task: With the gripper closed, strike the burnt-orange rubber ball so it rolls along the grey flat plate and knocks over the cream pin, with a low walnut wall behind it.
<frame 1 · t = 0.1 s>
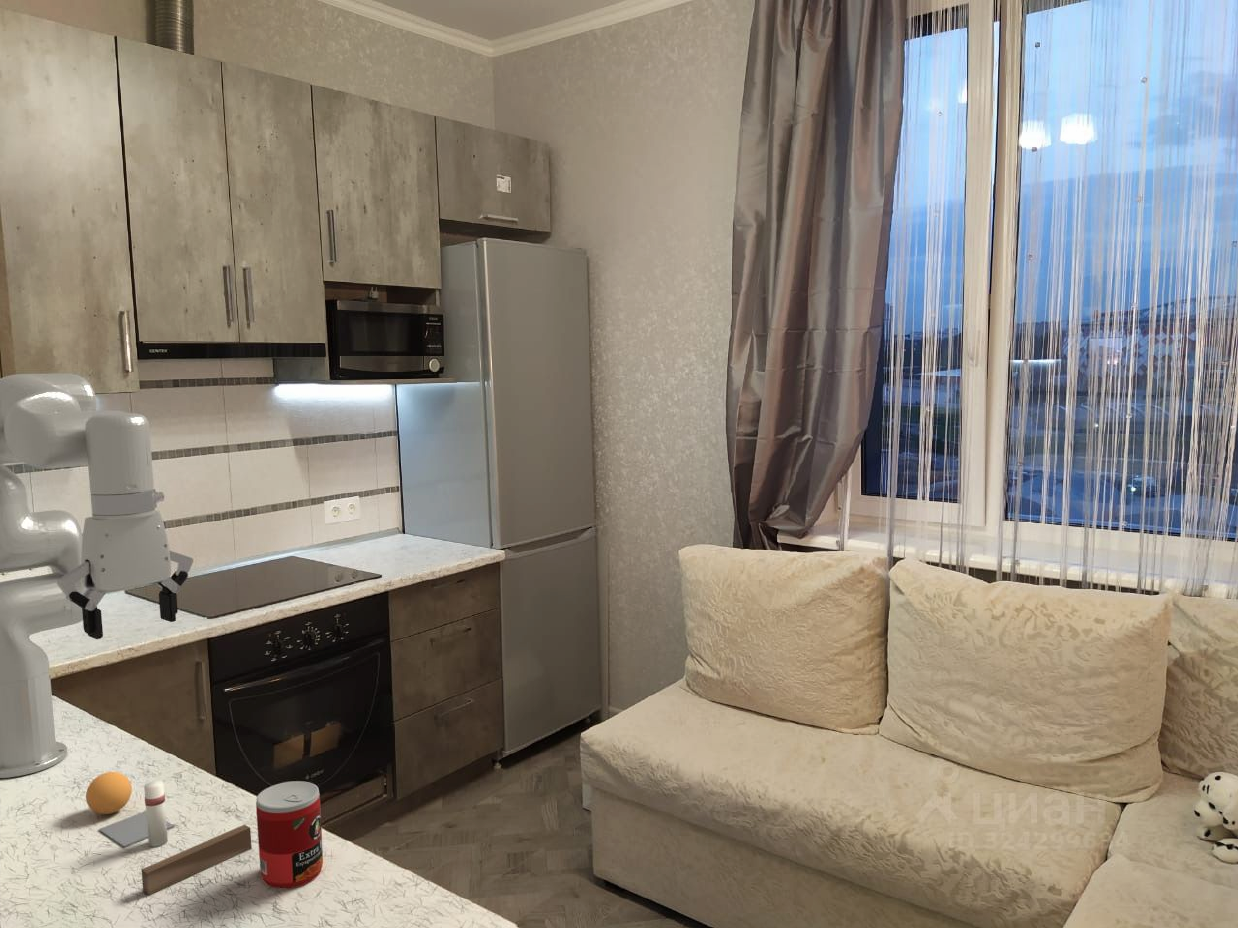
hand: (132, 628, 123), 31 cm above the table, tool pointing down, fingers open, 9 cm apart
pin: (158, 842, 127), on the table
ball: (109, 792, 136), on the table
back wall: (199, 868, 120), on the table
grey flat plate: (136, 828, 131), on the table
canned food: (292, 874, 119), on the table
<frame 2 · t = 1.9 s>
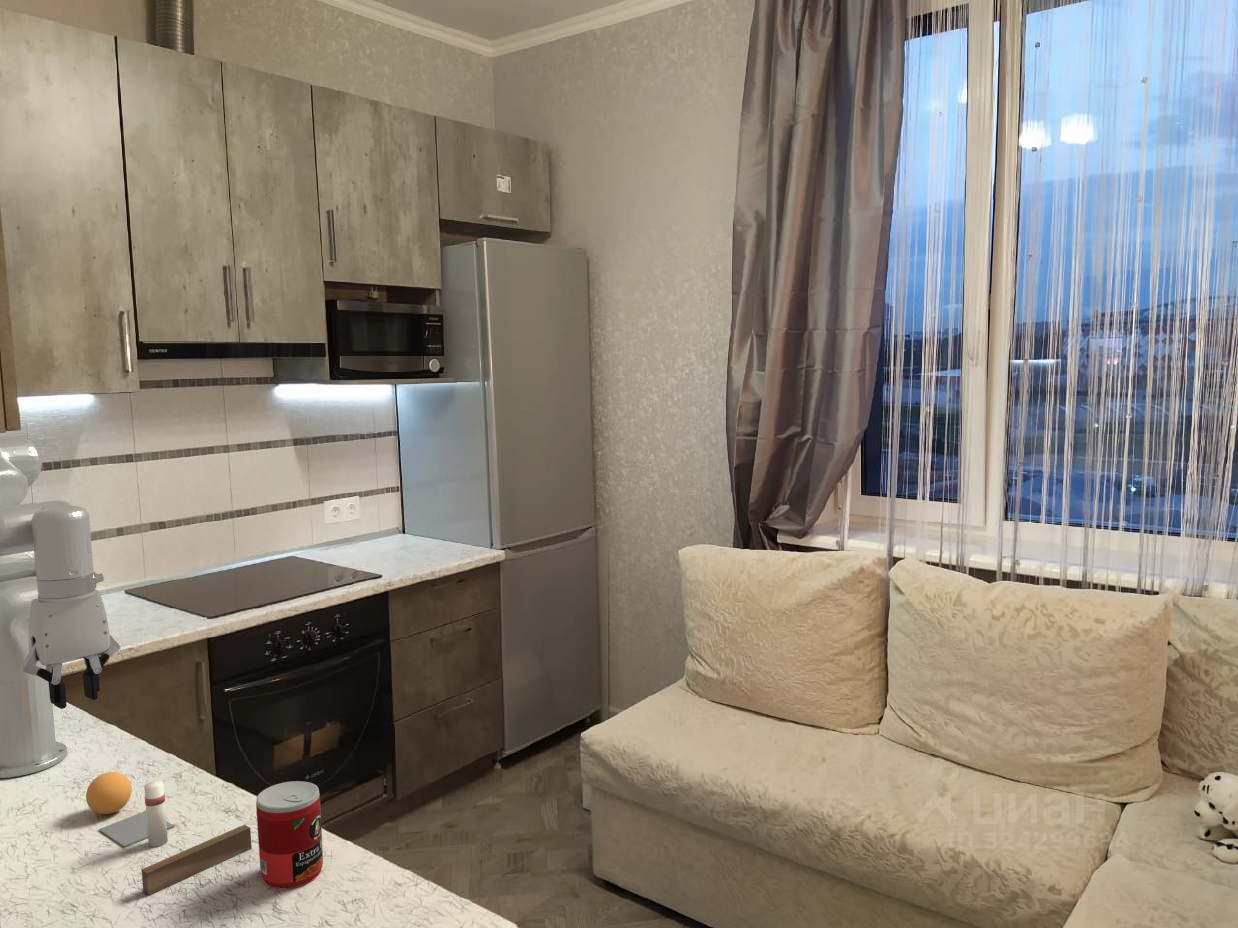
hand: (75, 700, 140), 15 cm above the table, tool pointing down, fingers open, 3 cm apart
nothing on the table moved.
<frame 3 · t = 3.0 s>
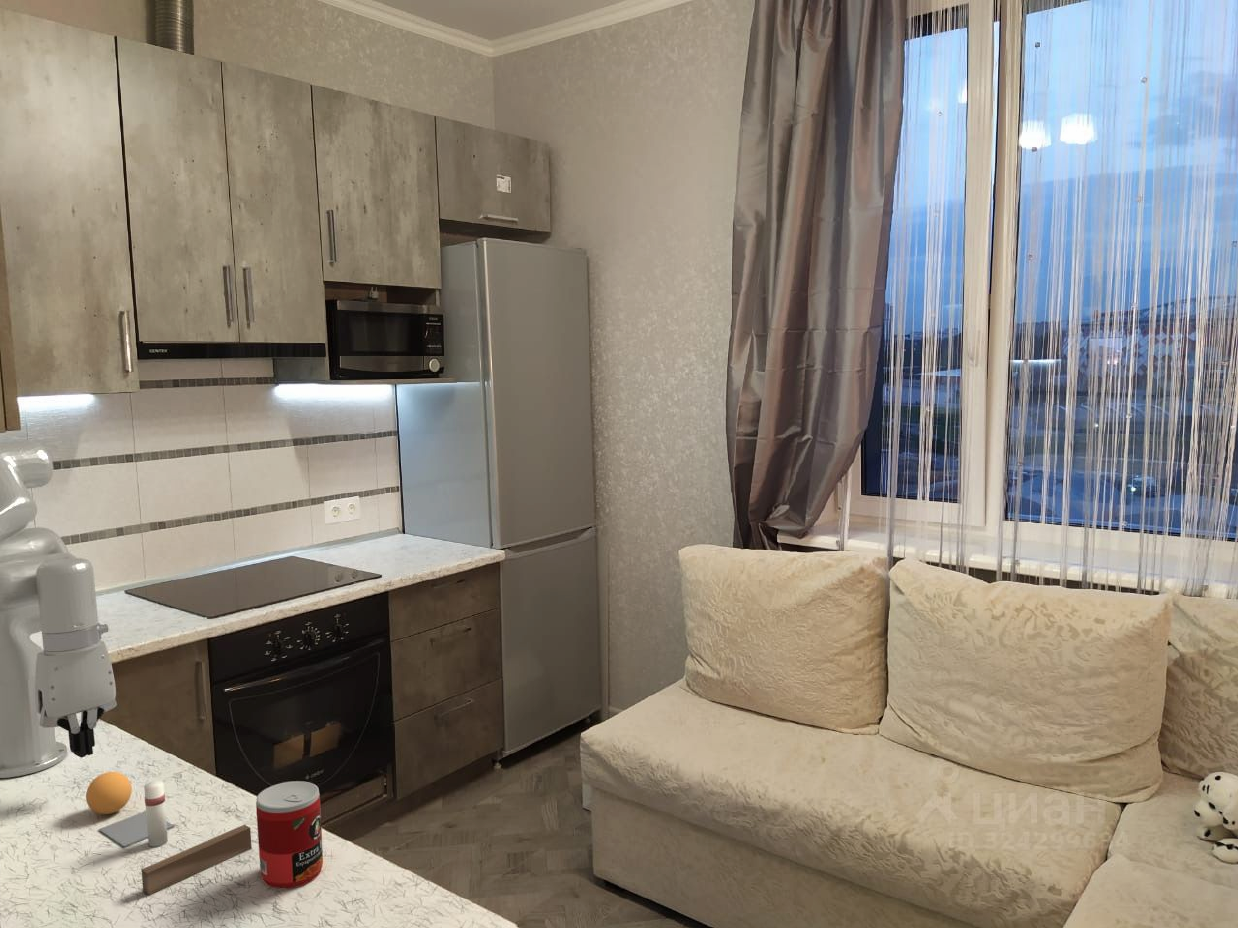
hand: (83, 753, 140), 7 cm above the table, tool pointing down, fingers closed
nothing on the table moved.
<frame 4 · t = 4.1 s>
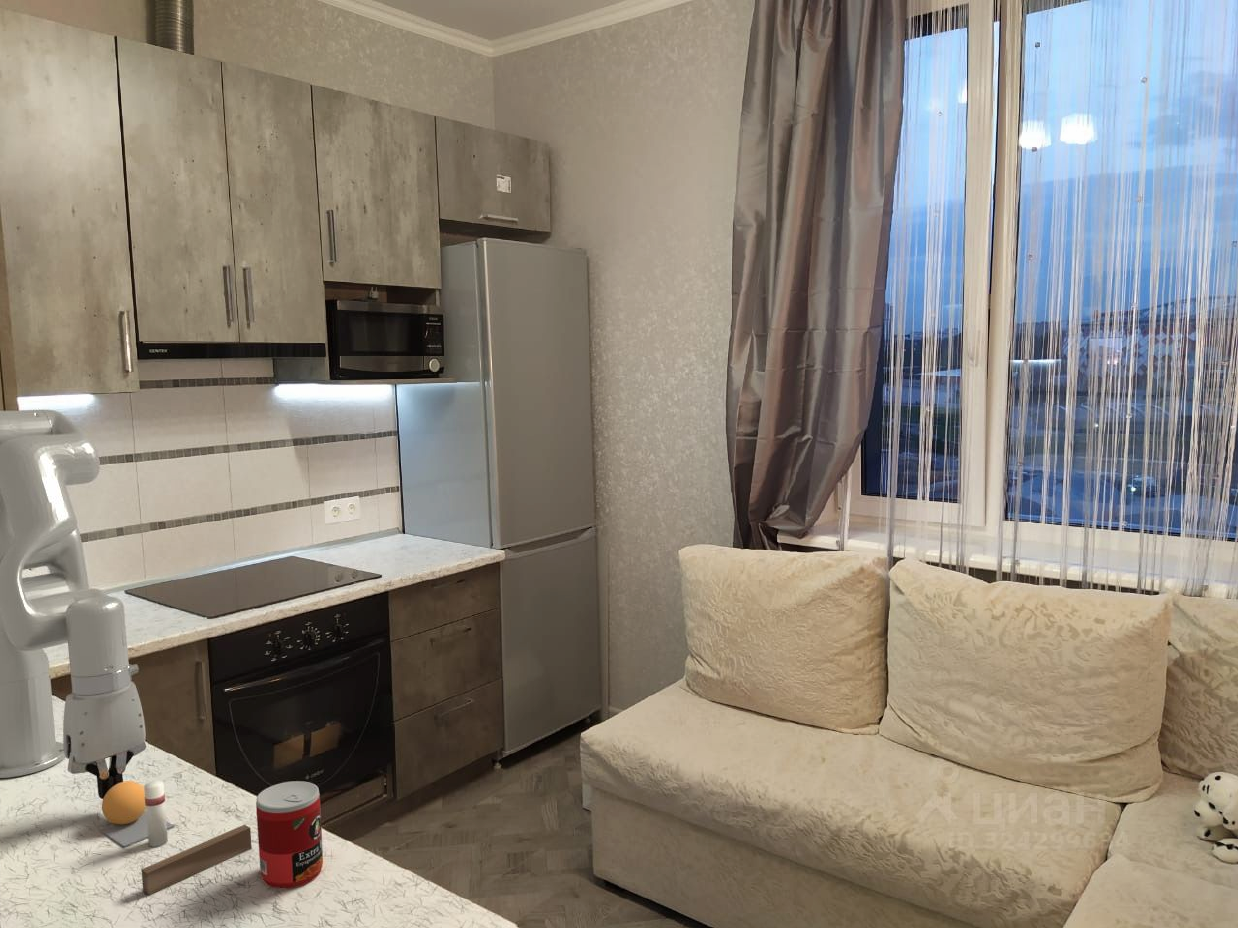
hand: (111, 799, 135), 2 cm above the table, tool pointing down, fingers closed
ball: (125, 802, 133), on the table
everything else where it was.
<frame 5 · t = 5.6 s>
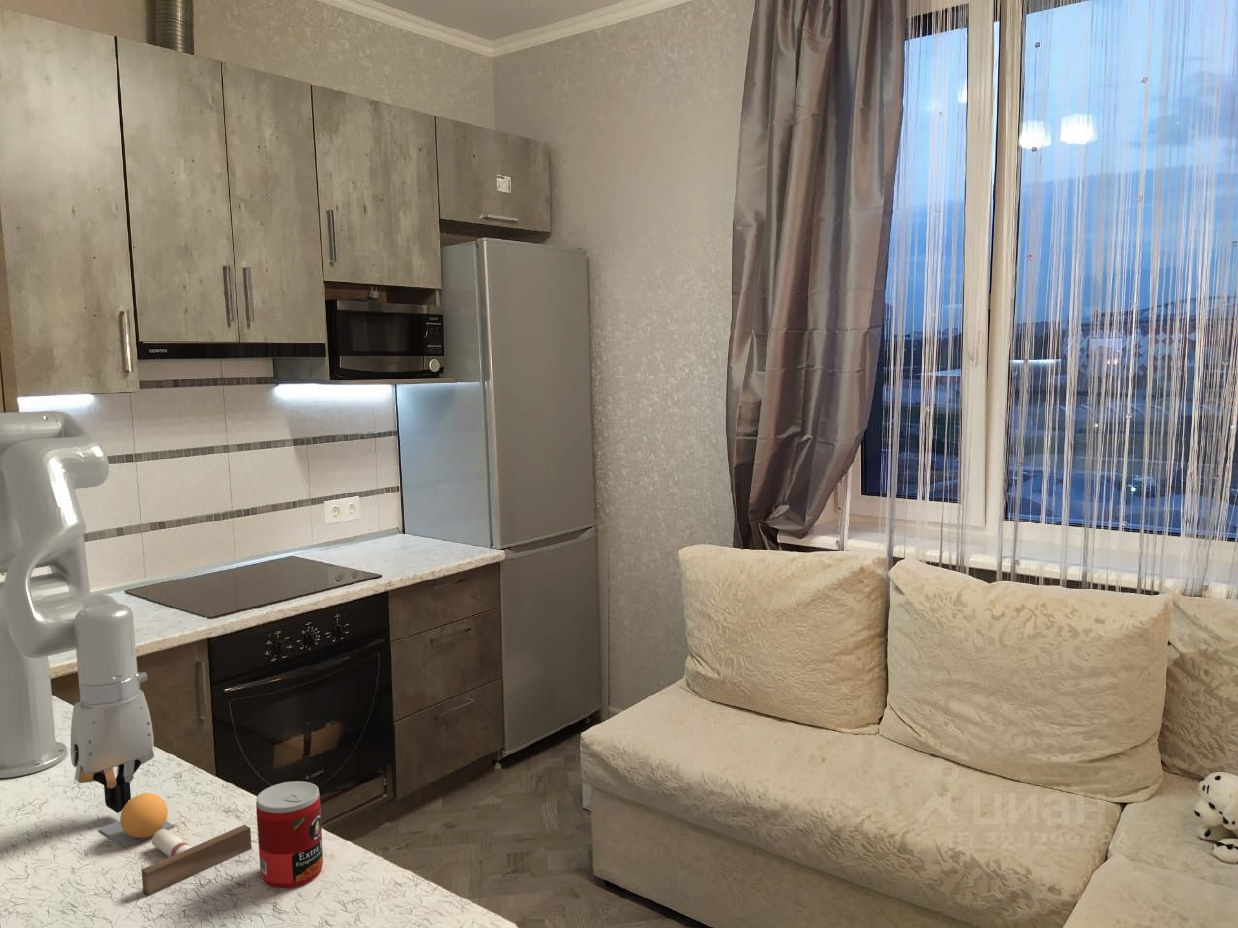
hand: (118, 807, 134), 2 cm above the table, tool pointing down, fingers closed
pin: (160, 837, 126), point 1 cm above the table, tilted 90°
ball: (144, 815, 129), on the table
everything else where it was.
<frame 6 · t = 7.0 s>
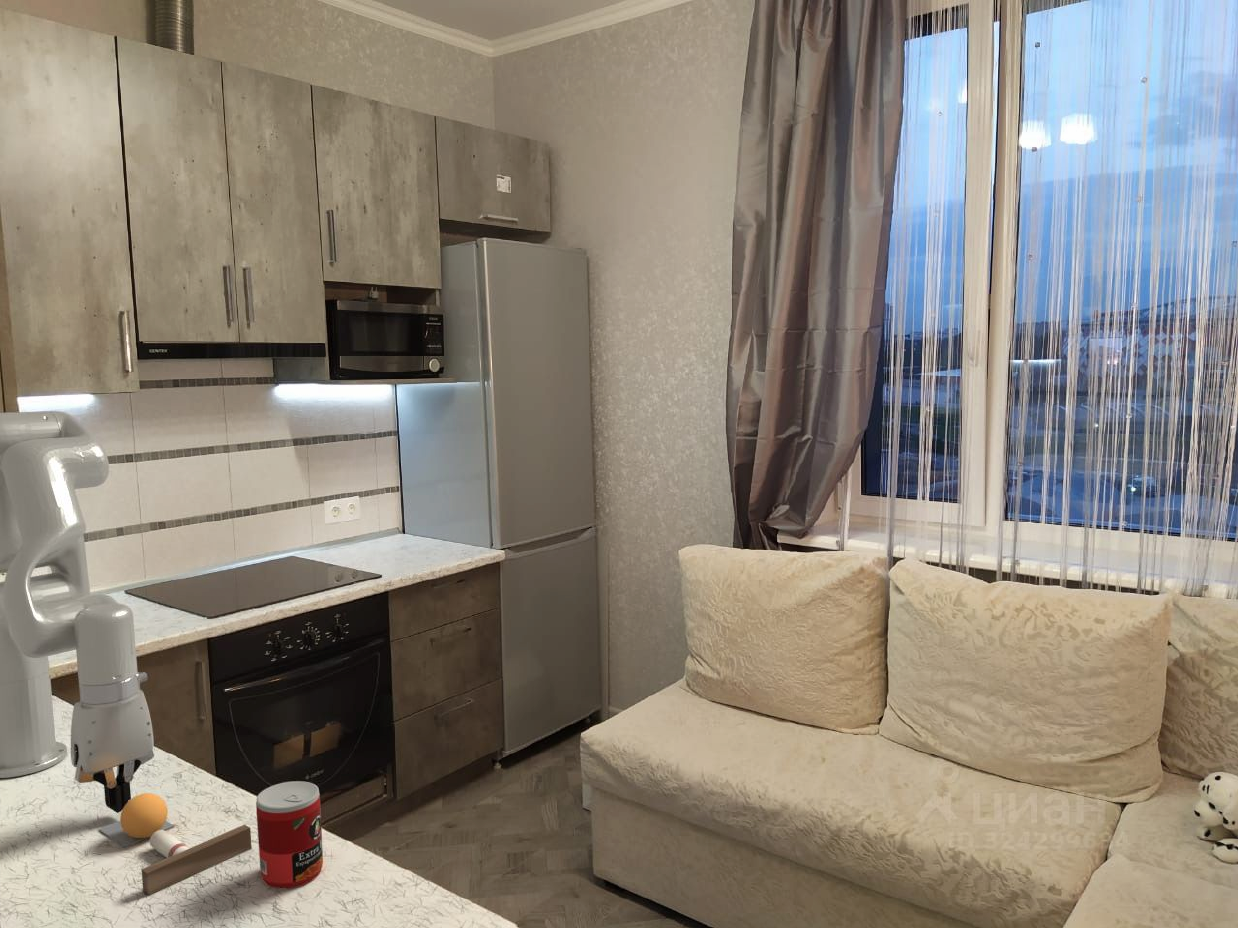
hand: (118, 807, 134), 2 cm above the table, tool pointing down, fingers closed
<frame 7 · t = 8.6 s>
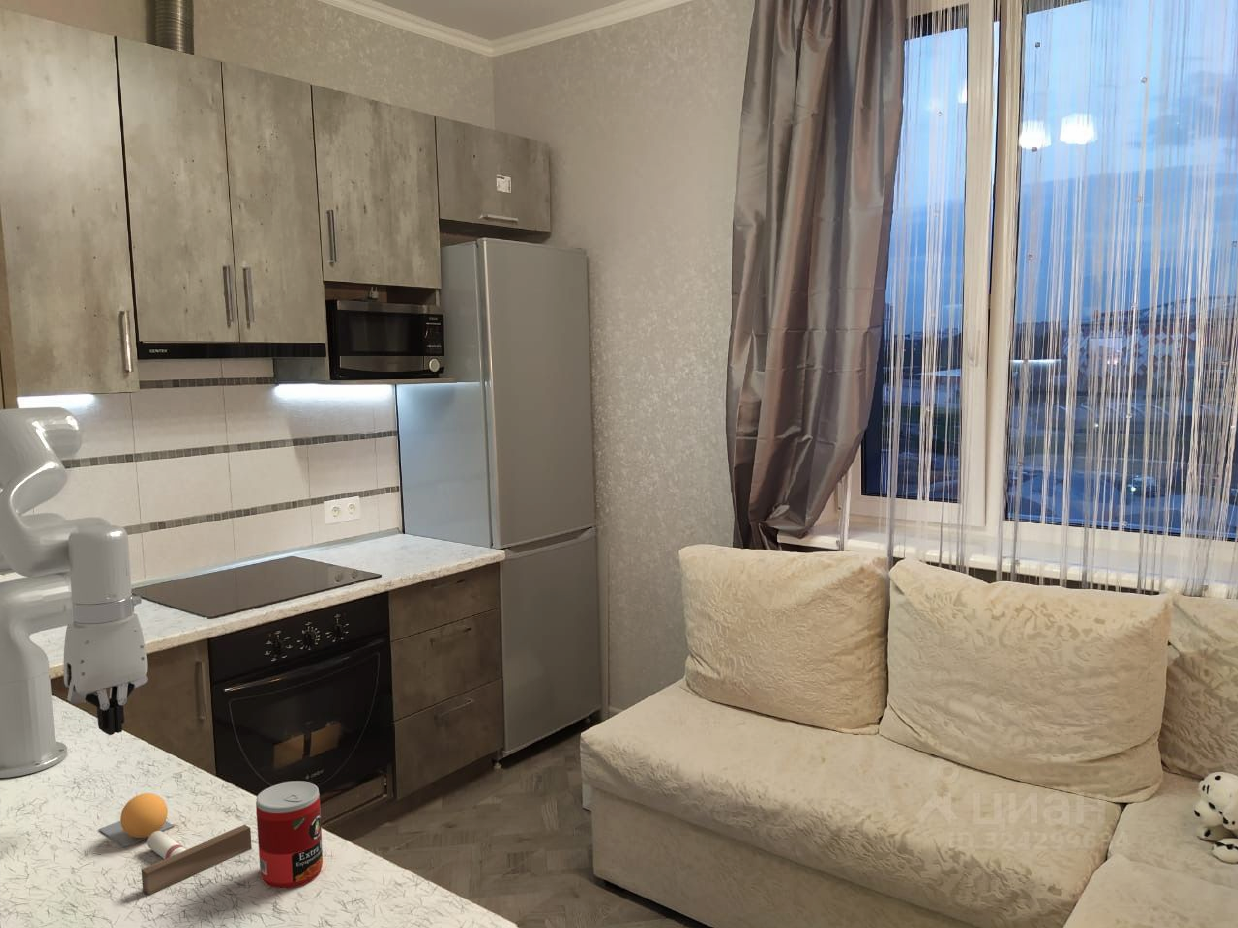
hand: (111, 730, 133), 13 cm above the table, tool pointing down, fingers closed
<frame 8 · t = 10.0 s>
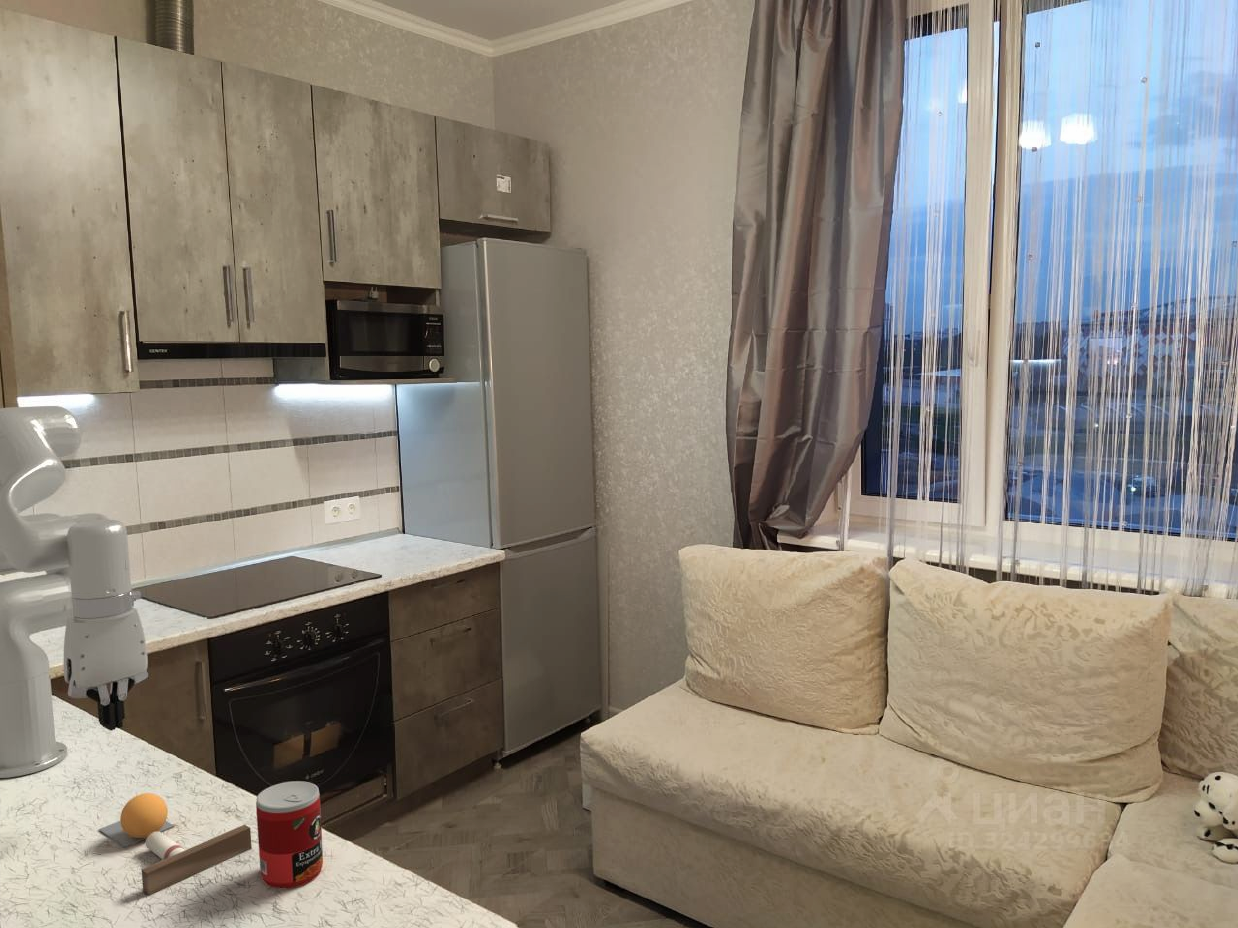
hand: (112, 726, 133), 14 cm above the table, tool pointing down, fingers closed
nothing on the table moved.
at the end: pin tilted 90°; pin never touched the robot; ball moved 11.6 cm from its start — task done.
